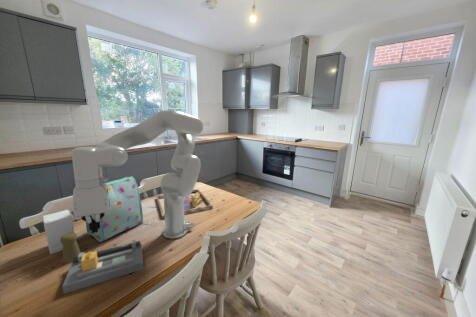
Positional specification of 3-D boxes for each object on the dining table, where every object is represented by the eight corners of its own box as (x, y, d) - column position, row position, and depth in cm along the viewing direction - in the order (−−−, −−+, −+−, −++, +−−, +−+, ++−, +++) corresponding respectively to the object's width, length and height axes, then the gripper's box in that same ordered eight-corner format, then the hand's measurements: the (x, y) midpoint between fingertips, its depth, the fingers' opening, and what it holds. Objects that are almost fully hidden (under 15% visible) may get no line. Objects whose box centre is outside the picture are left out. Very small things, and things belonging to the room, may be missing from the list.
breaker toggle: (98, 262, 74) (96, 249, 72) (96, 269, 70) (94, 255, 69) (85, 265, 72) (83, 252, 71) (82, 273, 68) (80, 259, 67)
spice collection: (207, 198, 144) (207, 186, 142) (197, 213, 121) (197, 199, 119) (175, 196, 146) (174, 184, 144) (160, 210, 123) (159, 197, 121)
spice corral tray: (198, 192, 153) (198, 189, 152) (212, 209, 125) (212, 205, 124) (156, 199, 138) (156, 195, 137) (162, 220, 110) (162, 215, 110)
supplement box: (77, 245, 88) (72, 215, 85) (50, 255, 81) (43, 223, 78) (73, 237, 94) (68, 209, 91) (48, 245, 87) (41, 215, 84)
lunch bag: (129, 215, 115) (125, 172, 110) (146, 223, 107) (142, 177, 102) (84, 234, 96) (76, 183, 90) (100, 245, 88) (92, 190, 82)
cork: (79, 251, 84) (75, 228, 82) (83, 257, 80) (79, 234, 78) (61, 258, 80) (56, 234, 77) (64, 265, 76) (59, 241, 74)
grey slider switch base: (142, 248, 87) (141, 238, 85) (143, 268, 75) (142, 256, 74) (74, 266, 75) (72, 254, 74) (63, 294, 64) (61, 280, 63)
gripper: (115, 177, 73) (119, 221, 76) (64, 182, 65) (71, 231, 69) (114, 183, 66) (119, 231, 70) (57, 189, 59) (65, 242, 62)
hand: (95, 231), depth 69 cm, fingers closed
